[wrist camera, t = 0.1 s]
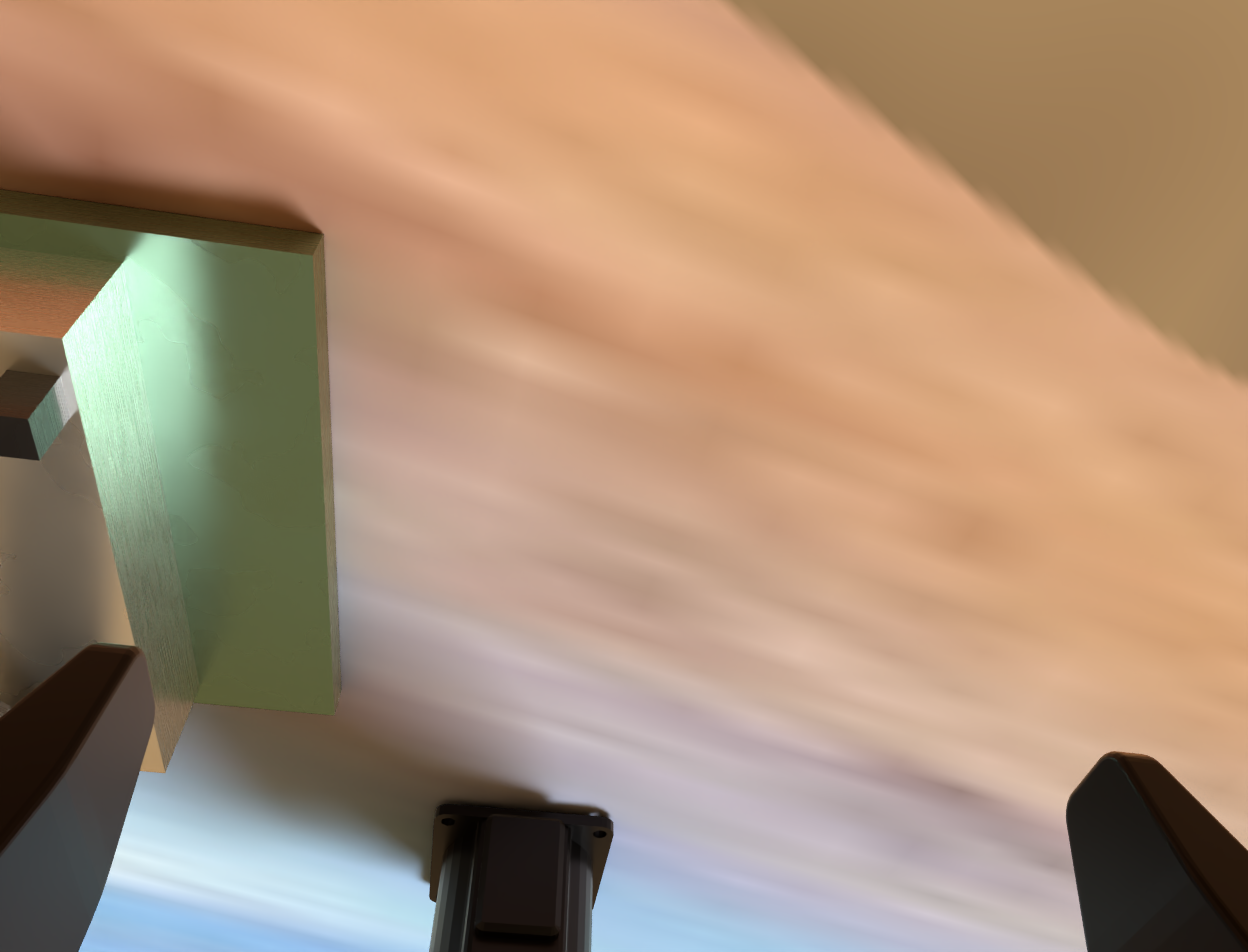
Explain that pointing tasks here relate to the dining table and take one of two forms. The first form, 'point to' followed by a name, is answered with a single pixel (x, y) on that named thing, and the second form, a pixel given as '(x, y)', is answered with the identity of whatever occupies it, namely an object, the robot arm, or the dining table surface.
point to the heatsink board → (166, 456)
